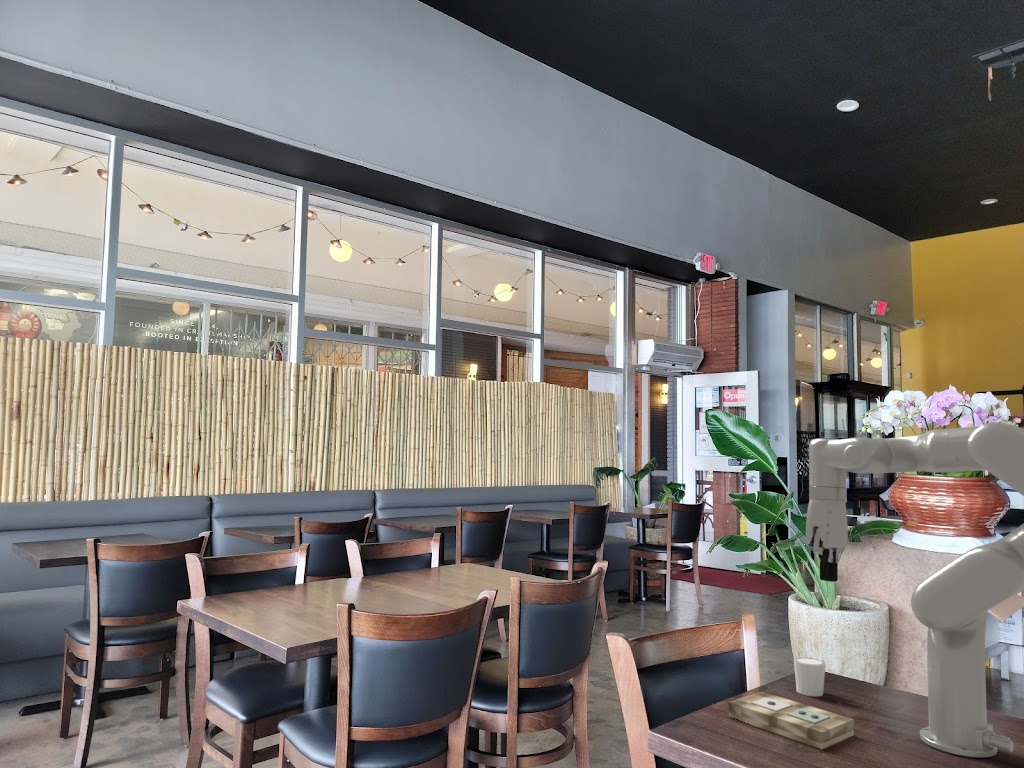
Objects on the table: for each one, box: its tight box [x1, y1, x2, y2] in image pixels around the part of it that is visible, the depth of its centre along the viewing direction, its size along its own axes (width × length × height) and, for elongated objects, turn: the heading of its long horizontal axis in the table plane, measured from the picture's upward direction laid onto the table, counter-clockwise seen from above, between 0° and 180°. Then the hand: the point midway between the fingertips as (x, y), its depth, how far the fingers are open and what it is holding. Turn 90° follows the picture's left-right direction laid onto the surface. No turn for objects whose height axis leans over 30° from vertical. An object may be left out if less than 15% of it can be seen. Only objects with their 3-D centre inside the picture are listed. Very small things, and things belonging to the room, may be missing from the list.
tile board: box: [728, 691, 855, 750], centre depth 146 cm, size 20×12×3 cm, turn 39°
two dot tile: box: [787, 708, 829, 724], centre depth 143 cm, size 6×6×2 cm
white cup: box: [793, 657, 826, 697], centre depth 168 cm, size 7×7×7 cm
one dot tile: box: [751, 697, 791, 712], centre depth 149 cm, size 6×6×2 cm
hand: (828, 580), depth 159 cm, fingers closed
